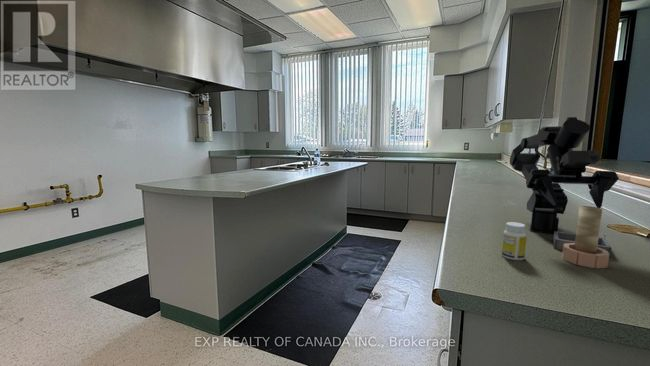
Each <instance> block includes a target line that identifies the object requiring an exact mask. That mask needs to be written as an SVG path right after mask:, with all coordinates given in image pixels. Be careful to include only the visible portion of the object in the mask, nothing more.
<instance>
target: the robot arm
mask: <svg viewBox="0 0 650 366" xmlns="http://www.w3.org/2000/svg"><path fill="white" fill-rule="evenodd" d="M590 130H591V125H590V124H588V123H587V122H585V121H583V120H580V119H578V118H577V116H574V117H573V116H571V117H569V116H568V117H567V118H566V120H565V121H564V122H563V124H562V125H560V126H558V125H557V126H543V127H541V128H540V129H539V130H538V133H537V134H534V135H533V134H532V135H531V136H528V137H523V138H521V141H520V144H518V145H517V146H516V147H515V148H513V149H512V151H511V154H510V157H509V165H510V166H511V168H512V169H513V170H514V171H517V172H519V173H521V174H522V175H523V177H524V179H525V183H526V188H527V189H530V190H531V191H532V194H531V195H530V197H529V199H528V200H527V202H526V210H528V211H529V212H531V219H530V220H531V222H530V227H529V231H531V232H536V233H542V234H543V233H545V234H549V235H550V234H551V235H554V231H558V232H559V223H560V218H559V217H558V214H560V215H564V213H565V212H566V208H567V204H568V202H569V200H568V196H567V195H566V193H565V192H564V190H565V189H563V188H562V187H561V185H560V184H563V185H564V184H565V185H570V184H571V185H587V187H588V189H589V191H588V192H589V195H590V197H591V199H592V200H593V201H592V202H593V203H594V205H595V207H597V208H601V209H602V206H603V201H604V195H605V192H608V191H610V189H611V188H612V187H613V186H614V185H615V184H616V183H617V182H618V181H619V179H620V177H619V176H618V173H617V172H616V171H614V170H595V171H594V173H593V174H592V176H589V175H583V174H582V173H586V171H587V166H589V165H591V164H593V165H595V164H596V163H597V162H599V161H600V159H601V158H600V154H599V152H598V150H597V149H588V150H574V149H577V148H579V146H581V143H582V142H583V140H584V139H585V137H586V136H587V135H588V133H589V132H590ZM546 146H548V147H547V148H546V151H547V153H546V155H545V158H546V159H549V161H550V168H549V169H546V168H545V169H541V168H540V169H539V167H538V166H537V165H538V163H539V161H540V158H541V153H540V151H539V149H540V148H541V147H546ZM525 149H526V150H527V149H528V150H529V149H530V150H531V149H533V150H535V152H534V153H532V152H531V153H530V152H528V153H527V152H526V153H525V152H524V153H523V151H524V150H525ZM550 172H552V173H550Z"/></svg>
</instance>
